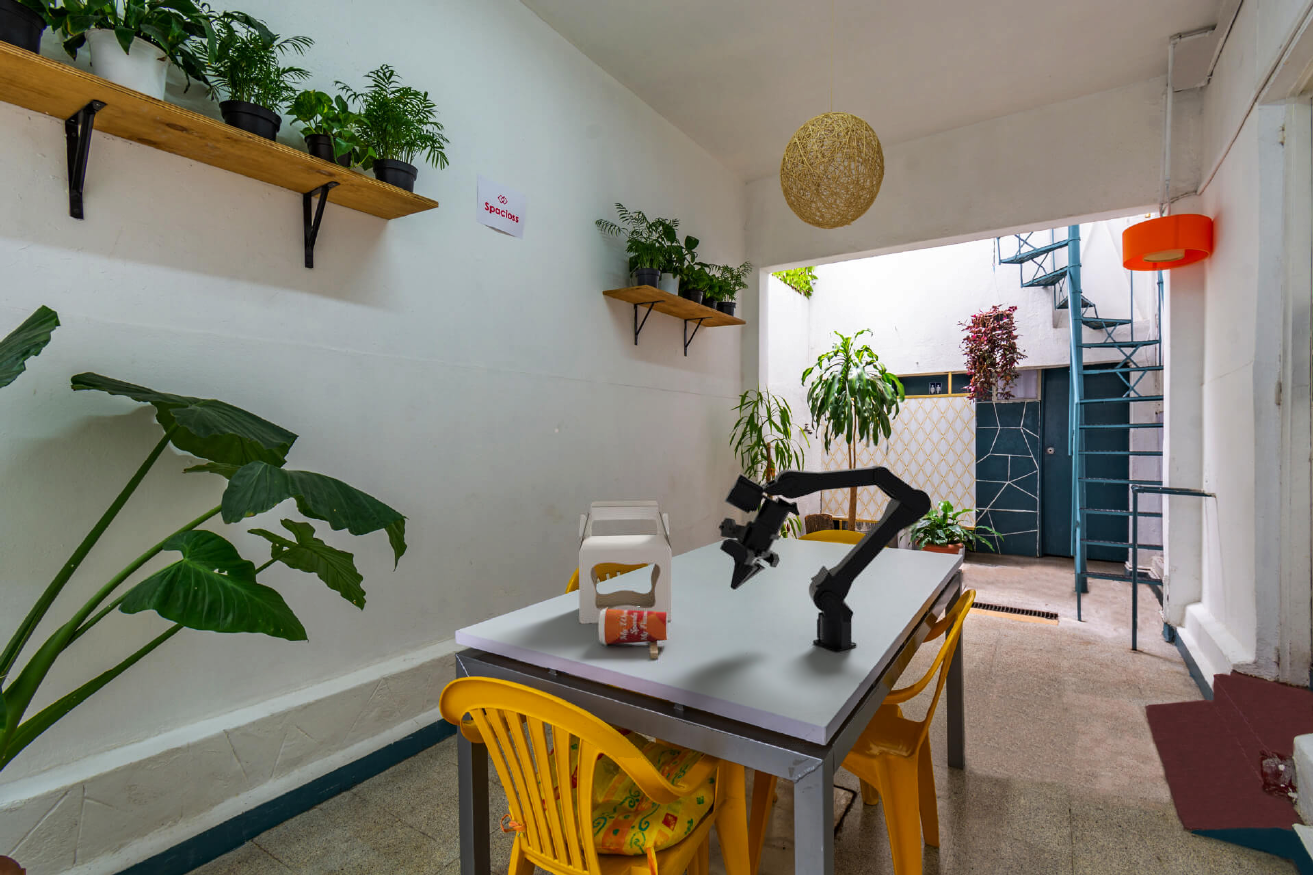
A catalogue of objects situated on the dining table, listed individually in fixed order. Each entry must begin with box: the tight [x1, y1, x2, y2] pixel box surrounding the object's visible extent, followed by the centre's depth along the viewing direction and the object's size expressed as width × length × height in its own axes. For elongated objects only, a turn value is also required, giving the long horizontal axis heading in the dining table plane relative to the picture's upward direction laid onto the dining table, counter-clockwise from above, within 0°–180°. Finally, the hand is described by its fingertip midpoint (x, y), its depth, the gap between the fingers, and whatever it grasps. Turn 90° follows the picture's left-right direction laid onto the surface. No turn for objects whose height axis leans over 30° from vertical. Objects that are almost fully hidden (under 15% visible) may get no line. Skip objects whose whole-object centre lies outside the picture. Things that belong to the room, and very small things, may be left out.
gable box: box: [578, 499, 673, 625], centre depth 148 cm, size 22×13×28 cm, turn 95°
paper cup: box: [597, 607, 669, 646], centre depth 126 cm, size 8×8×14 cm
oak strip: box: [649, 641, 659, 660], centre depth 125 cm, size 12×2×1 cm, turn 2°
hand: (732, 588), depth 128 cm, fingers closed
